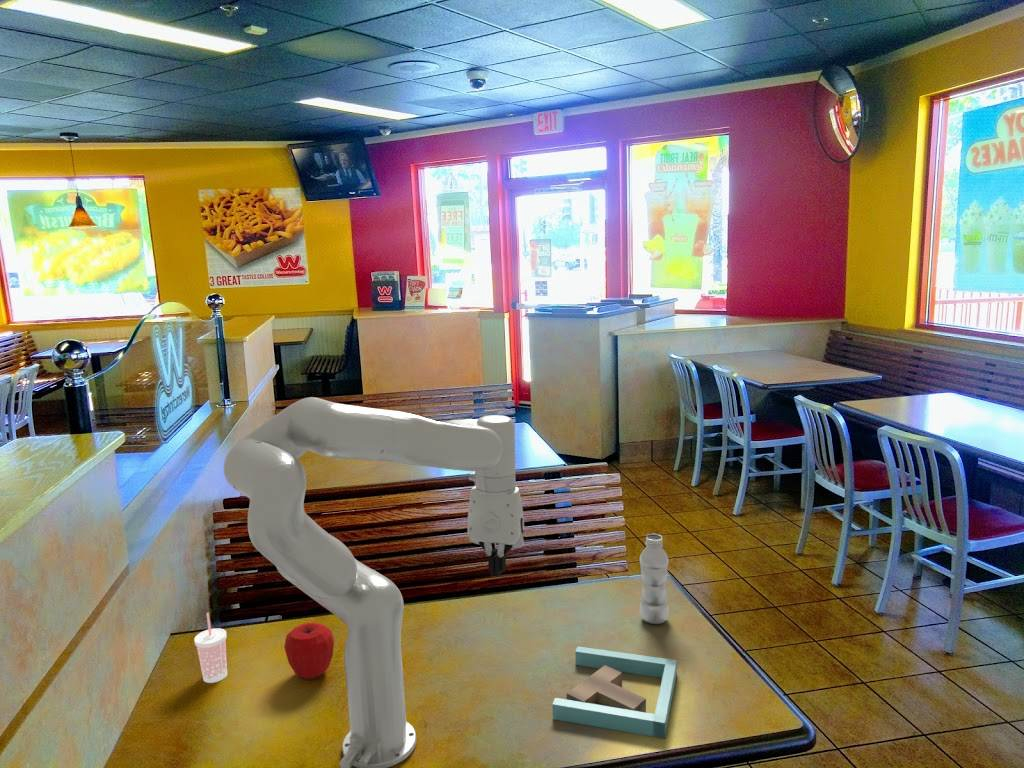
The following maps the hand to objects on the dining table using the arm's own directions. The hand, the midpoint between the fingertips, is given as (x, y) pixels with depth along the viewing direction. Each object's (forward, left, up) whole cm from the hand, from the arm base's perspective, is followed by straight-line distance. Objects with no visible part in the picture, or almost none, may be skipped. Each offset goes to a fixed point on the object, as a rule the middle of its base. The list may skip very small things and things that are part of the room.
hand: (497, 573), depth 141 cm
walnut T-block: (-2, -22, -23) cm, 32 cm away
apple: (-8, +38, -23) cm, 45 cm away
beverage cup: (-14, +57, -23) cm, 63 cm away
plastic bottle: (+31, -26, -23) cm, 46 cm away
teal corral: (+1, -22, -23) cm, 32 cm away
